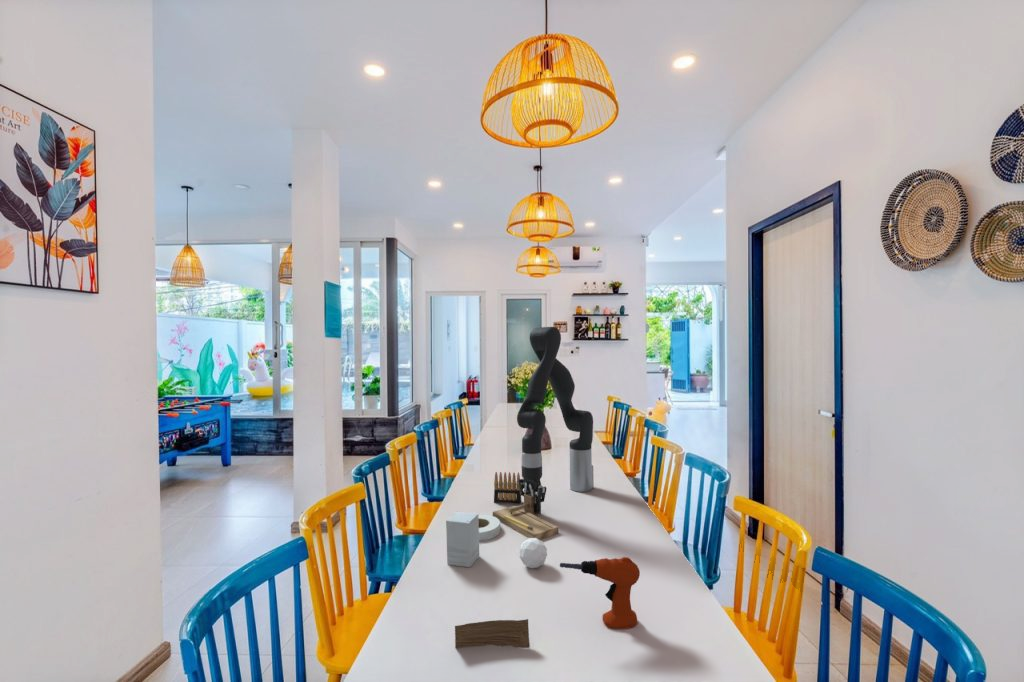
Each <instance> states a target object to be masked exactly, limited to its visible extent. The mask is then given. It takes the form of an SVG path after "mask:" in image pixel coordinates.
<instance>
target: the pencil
mask: <svg viewBox="0 0 1024 682" xmlns="http://www.w3.org/2000/svg"><path fill="white" fill-rule="evenodd" d="M504 518H505V519H507V520H509V521H512V522H514V523H516V524H518V525H520V526H523V527H525V528H527V529H529V530H533V527H531V526H529V525H527V524H525V523H522V522H520V521H518V520H516V519H513V518H511V517H509V516H507V515H505V516H504Z"/></svg>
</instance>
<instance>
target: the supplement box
mask: <svg viewBox="0 0 1024 682" xmlns="http://www.w3.org/2000/svg"><path fill="white" fill-rule="evenodd" d="M478 514H479V513H474V512H463V511H456V512H454V513H453V514H452V515H451V516H450V517H449V518H447V519H446V521H445V523H446V525H445V527H446V529H445V530H446V562H447V565H452V566H457V567H458V566H459V567H464V568H472V566H473V564H474V563H475V562H476V561H477V560H478V559H479V558H480V540H479V528H480V527H479V518H478Z"/></svg>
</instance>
